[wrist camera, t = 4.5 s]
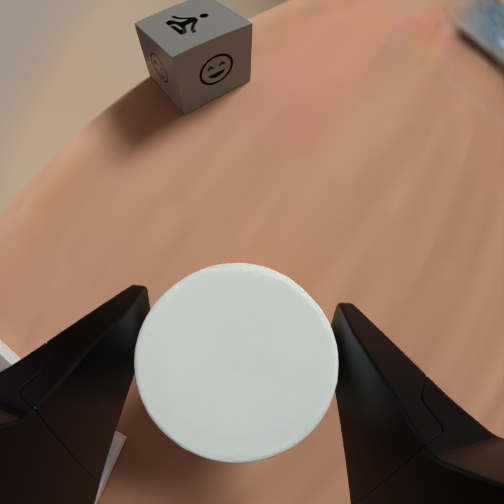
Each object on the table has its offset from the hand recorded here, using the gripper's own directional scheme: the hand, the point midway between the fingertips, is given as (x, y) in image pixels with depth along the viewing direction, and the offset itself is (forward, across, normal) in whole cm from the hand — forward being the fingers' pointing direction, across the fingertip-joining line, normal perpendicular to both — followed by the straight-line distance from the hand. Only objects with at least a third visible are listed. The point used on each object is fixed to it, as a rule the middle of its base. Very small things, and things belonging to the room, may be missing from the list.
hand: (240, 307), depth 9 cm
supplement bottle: (+4, 0, +6) cm, 7 cm away
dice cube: (+16, +4, -6) cm, 17 cm away
